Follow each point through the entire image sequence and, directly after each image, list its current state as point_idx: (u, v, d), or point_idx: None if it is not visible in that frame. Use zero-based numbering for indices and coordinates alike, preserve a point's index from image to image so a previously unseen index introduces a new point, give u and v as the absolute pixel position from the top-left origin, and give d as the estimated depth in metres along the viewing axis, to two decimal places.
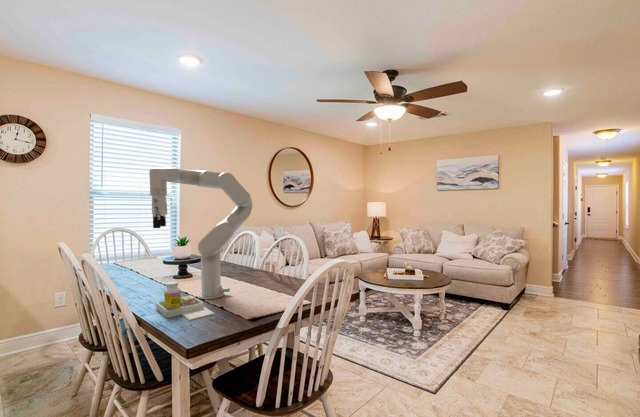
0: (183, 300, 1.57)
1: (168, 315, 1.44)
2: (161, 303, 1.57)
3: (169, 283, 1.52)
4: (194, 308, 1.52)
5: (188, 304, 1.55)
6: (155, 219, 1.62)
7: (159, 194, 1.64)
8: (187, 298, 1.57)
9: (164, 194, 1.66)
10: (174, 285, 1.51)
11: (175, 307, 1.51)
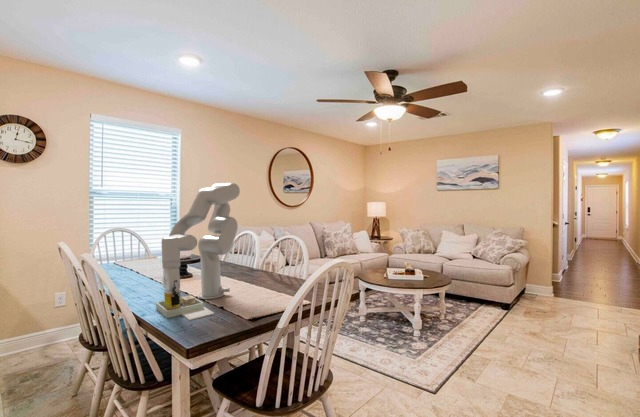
0: (183, 300, 1.57)
1: (168, 315, 1.44)
2: (161, 303, 1.57)
3: None
4: (194, 308, 1.52)
5: (188, 304, 1.55)
6: None
7: None
8: (187, 298, 1.57)
9: None
10: None
11: (175, 307, 1.51)
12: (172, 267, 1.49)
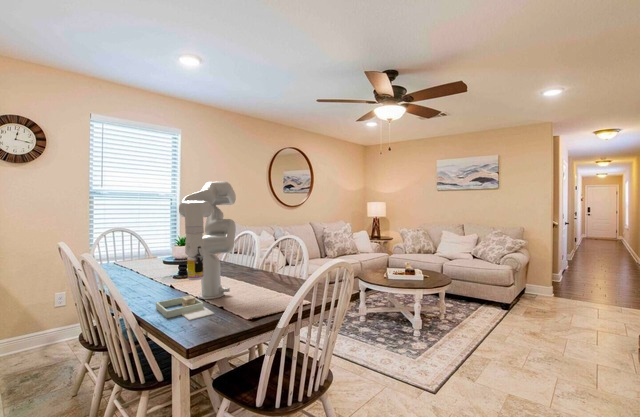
0: (183, 300, 1.57)
1: (168, 315, 1.44)
2: (161, 303, 1.57)
3: None
4: (194, 308, 1.52)
5: (188, 304, 1.55)
6: None
7: None
8: (187, 298, 1.57)
9: None
10: None
11: (198, 274, 1.45)
12: (196, 233, 1.44)
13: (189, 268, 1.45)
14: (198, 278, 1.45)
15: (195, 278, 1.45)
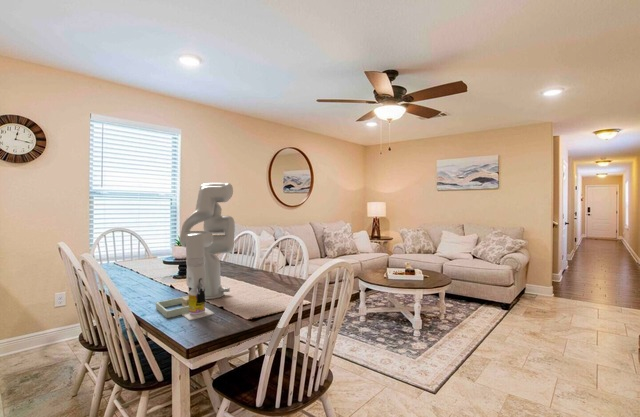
0: (183, 300, 1.57)
1: (168, 315, 1.44)
2: (161, 303, 1.57)
3: None
4: None
5: (188, 304, 1.55)
6: None
7: None
8: (187, 298, 1.57)
9: None
10: (199, 286, 1.47)
11: (200, 309, 1.46)
12: (197, 264, 1.44)
13: (190, 303, 1.46)
14: (199, 313, 1.46)
15: (196, 313, 1.45)
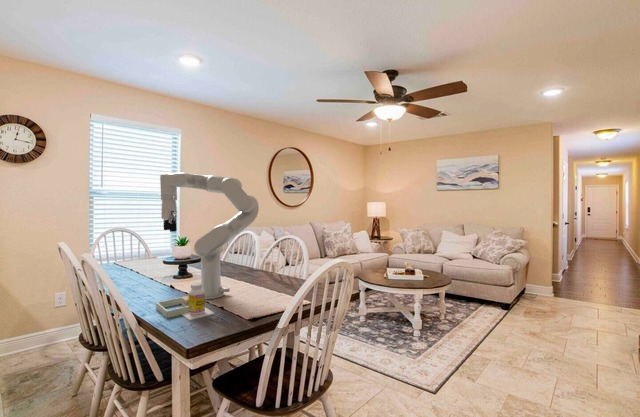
0: (183, 300, 1.57)
1: (168, 315, 1.44)
2: (161, 303, 1.57)
3: (193, 284, 1.47)
4: None
5: (188, 304, 1.55)
6: None
7: None
8: (187, 298, 1.57)
9: None
10: (199, 286, 1.47)
11: (200, 309, 1.46)
12: (169, 199, 1.69)
13: (190, 303, 1.46)
14: (199, 313, 1.46)
15: (196, 313, 1.45)
